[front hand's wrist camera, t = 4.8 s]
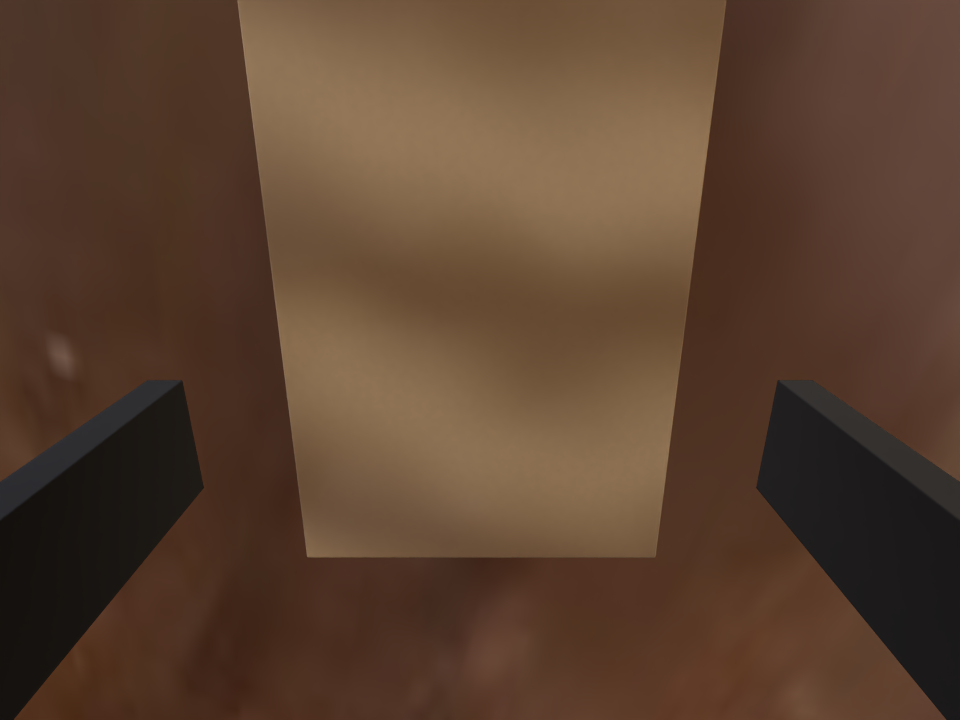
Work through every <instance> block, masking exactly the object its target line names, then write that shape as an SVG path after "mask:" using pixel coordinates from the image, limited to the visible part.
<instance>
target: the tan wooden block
mask: <svg viewBox="0 0 960 720" xmlns="http://www.w3.org/2000/svg"><path fill="white" fill-rule="evenodd" d="M237 1H238V9H239V17H240V25H241V33H242V40H243V48H244V56H245V64H246V72H247V80H248V88H249V96H250V104H251V112H252V120H253V128H254V136H255V144H256V152H257V160H258V168H259V176H260V184H261V192H262V200H263V208H264V216H265V224H266V232H267V240H268V248H269V256H270V264H271V272H272V280H273V288H274V296H275V304H276V312H277V320H278V328H279V336H280V344H281V351H282V359H283V367H284V375H285V383H286V391H287V399H288V407H289V415H290V423H291V431H292V439H293V447H294V455H295V463H296V471H297V479H298V487H299V495H300V503H301V511H302V519H303V527H304V535H305V543H306V551H307V557H309V558H655V557H656V549H657V541H658V533H659V526H660V518H661V510H662V502H663V494H664V486H665V478H666V471H667V463H668V455H669V447H670V439H671V431H672V424H673V416H674V408H675V400H676V392H677V384H678V376H679V369H680V361H681V353H682V345H683V337H684V329H685V322H686V314H687V306H688V298H689V290H690V282H691V274H692V267H693V259H694V251H695V243H696V235H697V227H698V220H699V212H700V204H701V196H702V188H703V180H704V173H705V165H706V157H707V149H708V141H709V133H710V125H711V118H712V110H713V102H714V94H715V86H716V78H717V71H718V63H719V55H720V47H721V39H722V31H723V23H724V16H725V8H726V0H237Z"/></svg>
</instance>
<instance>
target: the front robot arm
mask: <svg viewBox="0 0 960 720" xmlns="http://www.w3.org/2000/svg"><path fill="white" fill-rule="evenodd" d="M203 488H204V487H203V482H202V477H201V472H200V467H199V462H198V457H197V452H196V447H195V442H194V437H193V432H192V427H191V422H190V417H189V412H188V407H187V402H186V397H185V392H184V387H183V382H182V380H147V381H146V382H145V383H143V384H142V385H140V386H139V387H137V388H136V389H134V390H133V391H131V392H130V393H129V394H127V395H126V396H124V397H123V398H121V399H120V400H118V401H117V402H116V403H114V404H113V405H111V406H110V407H108V408H107V409H105V410H104V411H103V412H101V413H100V414H98V415H97V416H95V417H94V418H92V419H91V420H89V421H88V422H87V423H85V424H84V425H82V426H81V427H79V428H78V429H76V430H75V431H74V432H72V433H71V434H69V435H68V436H66V437H65V438H63V439H62V440H60V441H59V442H58V443H56V444H55V445H53V446H52V447H50V448H49V449H47V450H46V451H45V452H43V453H42V454H40V455H39V456H37V457H36V458H34V459H33V460H31V461H30V462H29V463H27V464H26V465H24V466H23V467H21V468H20V469H18V470H17V471H16V472H14V473H13V474H11V475H10V476H8V477H7V478H5V479H4V480H2V481H1V482H0V720H14V718H15V717H16V716H17V715H18V713H19V712H20V711H21V710H22V709H23V707H24V706H25V705H26V704H27V703H28V701H29V700H30V699H31V698H32V696H33V695H34V694H35V693H36V692H37V690H38V689H39V688H40V687H41V685H42V684H43V683H44V682H45V681H46V679H47V678H48V677H49V676H50V674H51V673H52V672H53V671H54V670H55V668H56V667H57V666H58V665H59V664H60V662H61V661H62V660H63V659H64V657H65V656H66V655H67V654H68V653H69V651H70V650H71V649H72V648H73V646H74V645H75V644H76V643H77V642H78V640H79V639H80V638H81V637H82V635H83V634H84V633H85V632H86V631H87V629H88V628H89V627H90V626H91V625H92V623H93V622H94V621H95V620H96V618H97V617H98V616H99V615H100V614H101V612H102V611H103V610H104V609H105V607H106V606H107V605H108V604H109V603H110V601H111V600H112V599H113V598H114V596H115V595H116V594H117V593H118V592H119V590H120V589H121V588H122V587H123V586H124V584H125V583H126V582H127V581H128V579H129V578H130V577H131V576H132V575H133V573H134V572H135V571H136V570H137V568H138V567H139V566H140V565H141V564H142V562H143V561H144V560H145V559H146V558H147V556H148V555H149V554H150V553H151V551H152V550H153V549H154V548H155V547H156V545H157V544H158V543H159V542H160V540H161V539H162V538H163V537H164V536H165V534H166V533H167V532H168V531H169V529H170V528H171V527H172V526H173V525H174V523H175V522H176V521H177V520H178V519H179V517H180V516H181V515H182V514H183V512H184V511H185V510H186V509H187V508H188V506H189V505H190V504H191V503H192V501H193V500H194V499H195V498H196V497H197V495H198V494H199V493H200V492H201V490H202V489H203ZM756 488H757V489H758V490H759V492H760V493H761V494H762V495H763V497H764V498H765V499H766V500H767V501H768V503H769V504H770V505H771V506H772V508H773V509H774V510H775V511H776V512H777V514H778V515H779V516H780V517H781V519H782V520H783V521H784V522H785V523H786V525H787V526H788V527H789V528H790V529H791V531H792V532H793V533H794V534H795V536H796V537H797V538H798V539H799V540H800V542H801V543H802V544H803V545H804V547H805V548H806V549H807V550H808V551H809V553H810V554H811V555H812V556H813V558H814V559H815V560H816V561H817V562H818V564H819V565H820V566H821V567H822V568H823V570H824V571H825V572H826V573H827V575H828V576H829V577H830V578H831V579H832V581H833V582H834V583H835V584H836V586H837V587H838V588H839V589H840V590H841V592H842V593H843V594H844V595H845V597H846V598H847V599H848V600H849V601H850V603H851V604H852V605H853V606H854V607H855V609H856V610H857V611H858V612H859V614H860V615H861V616H862V617H863V618H864V620H865V621H866V622H867V623H868V625H869V626H870V627H871V628H872V629H873V631H874V632H875V633H876V634H877V635H878V637H879V638H880V639H881V640H882V642H883V643H884V644H885V645H886V646H887V648H888V649H889V650H890V651H891V653H892V654H893V655H894V656H895V657H896V659H897V660H898V661H899V662H900V664H901V665H902V666H903V667H904V668H905V670H906V671H907V672H908V673H909V674H910V676H911V677H912V678H913V679H914V681H915V682H916V683H917V684H918V685H919V687H920V688H921V689H922V690H923V692H924V693H925V694H926V695H927V696H928V698H929V699H930V700H931V701H932V703H933V704H934V705H935V706H936V707H937V709H938V710H939V711H940V712H941V713H942V715H943V716H944V717H945V718H946V720H960V482H959V481H958V480H956V479H955V478H953V477H952V476H950V475H949V474H947V473H946V472H944V471H943V470H942V469H940V468H939V467H937V466H936V465H934V464H933V463H931V462H930V461H929V460H927V459H926V458H924V457H923V456H921V455H920V454H918V453H917V452H915V451H914V450H913V449H911V448H910V447H908V446H907V445H905V444H904V443H902V442H901V441H900V440H898V439H897V438H895V437H894V436H892V435H891V434H889V433H888V432H886V431H885V430H884V429H882V428H881V427H879V426H878V425H876V424H875V423H873V422H872V421H871V420H869V419H868V418H866V417H865V416H863V415H862V414H860V413H859V412H857V411H856V410H855V409H853V408H852V407H850V406H849V405H847V404H846V403H844V402H843V401H842V400H840V399H839V398H837V397H836V396H834V395H833V394H831V393H830V392H829V391H827V390H826V389H824V388H823V387H821V386H820V385H818V384H817V383H815V382H814V381H813V380H778V382H777V387H776V392H775V397H774V402H773V407H772V412H771V417H770V422H769V427H768V432H767V437H766V442H765V447H764V452H763V457H762V462H761V467H760V472H759V477H758V482H757V487H756Z"/></svg>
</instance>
